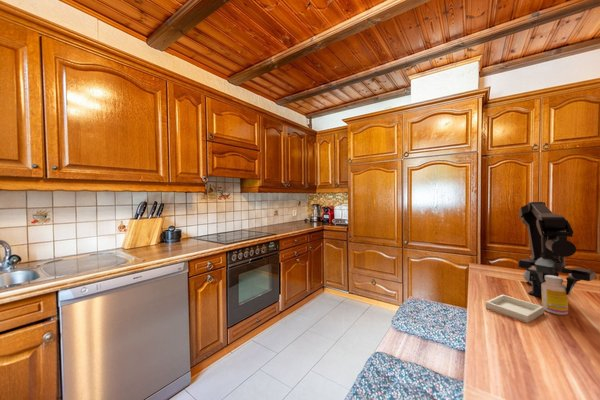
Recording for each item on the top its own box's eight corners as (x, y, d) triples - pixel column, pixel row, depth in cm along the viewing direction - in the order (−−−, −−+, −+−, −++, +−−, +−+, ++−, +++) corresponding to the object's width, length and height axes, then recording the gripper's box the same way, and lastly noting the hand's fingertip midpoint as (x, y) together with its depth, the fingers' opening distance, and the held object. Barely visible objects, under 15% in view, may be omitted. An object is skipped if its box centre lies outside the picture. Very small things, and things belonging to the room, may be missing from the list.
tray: (502, 300, 97) (502, 294, 97) (544, 313, 86) (543, 306, 86) (485, 308, 92) (485, 301, 92) (527, 323, 80) (527, 316, 80)
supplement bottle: (574, 316, 83) (573, 280, 83) (552, 315, 84) (550, 280, 84) (557, 307, 89) (556, 274, 89) (537, 306, 91) (536, 274, 90)
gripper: (510, 248, 91) (511, 287, 92) (582, 259, 74) (584, 307, 75) (524, 244, 96) (525, 281, 96) (595, 253, 79) (596, 298, 80)
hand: (554, 291), depth 87 cm, fingers closed on supplement bottle, 7 cm apart
